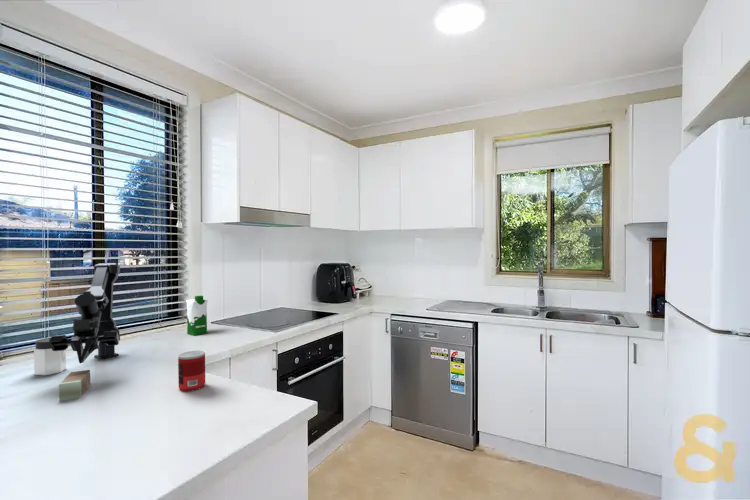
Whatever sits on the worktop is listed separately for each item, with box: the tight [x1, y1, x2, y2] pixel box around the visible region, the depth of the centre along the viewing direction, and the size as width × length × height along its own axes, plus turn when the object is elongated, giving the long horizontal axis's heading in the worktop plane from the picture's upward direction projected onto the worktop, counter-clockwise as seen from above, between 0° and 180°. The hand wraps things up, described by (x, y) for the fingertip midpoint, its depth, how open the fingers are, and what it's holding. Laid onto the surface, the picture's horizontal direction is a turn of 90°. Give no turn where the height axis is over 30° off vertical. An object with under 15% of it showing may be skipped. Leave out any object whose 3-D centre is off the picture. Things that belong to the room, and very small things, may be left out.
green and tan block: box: [58, 369, 91, 402], centre depth 118 cm, size 5×5×12 cm
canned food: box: [177, 350, 206, 392], centre depth 122 cm, size 8×8×11 cm
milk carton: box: [185, 295, 209, 336], centre depth 196 cm, size 9×9×20 cm
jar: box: [33, 337, 67, 376], centre depth 137 cm, size 9×8×12 cm
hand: (80, 362), depth 123 cm, fingers closed
